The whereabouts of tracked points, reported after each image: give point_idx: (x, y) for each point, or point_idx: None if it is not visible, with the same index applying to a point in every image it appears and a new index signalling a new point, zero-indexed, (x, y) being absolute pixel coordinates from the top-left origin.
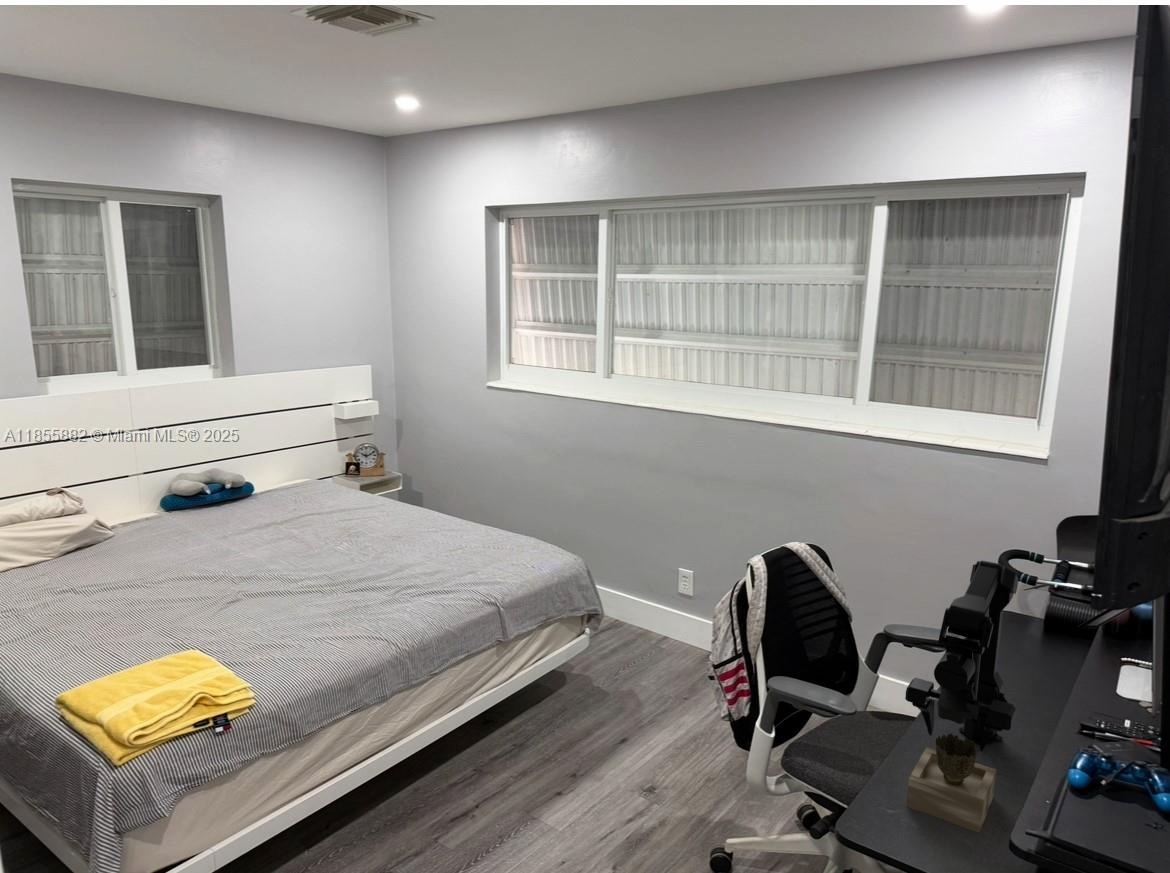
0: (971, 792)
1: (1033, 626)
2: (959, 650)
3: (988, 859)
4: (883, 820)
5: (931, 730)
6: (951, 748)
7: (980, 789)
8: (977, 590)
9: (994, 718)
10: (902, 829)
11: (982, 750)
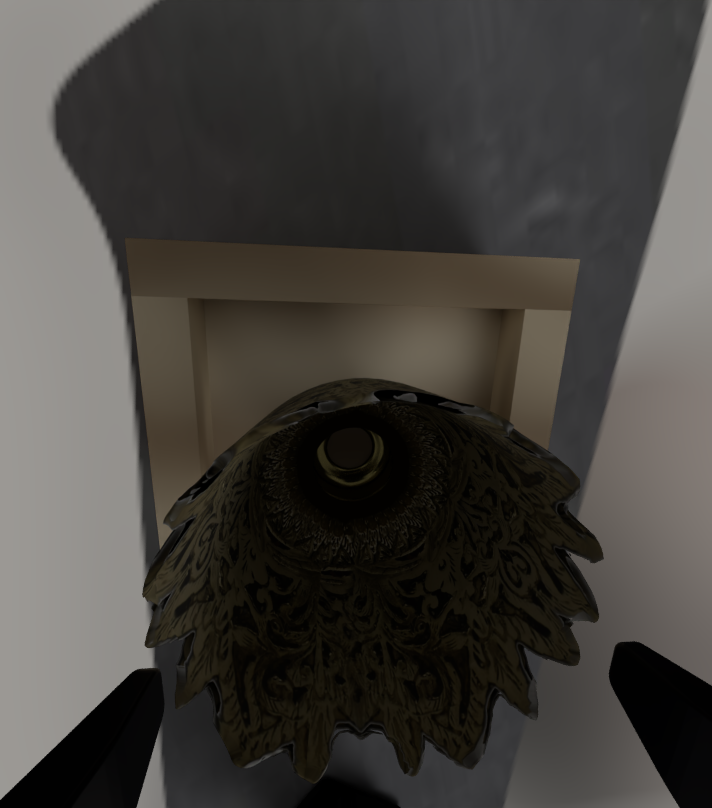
0: (246, 400)
1: None
2: None
3: (110, 79)
4: (564, 107)
5: (680, 697)
6: (412, 621)
7: (184, 399)
8: None
9: None
10: (483, 86)
11: (122, 682)
